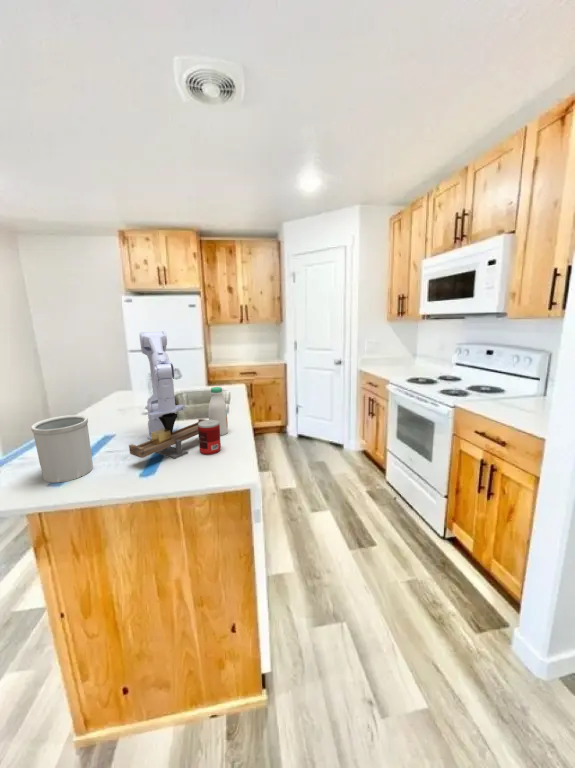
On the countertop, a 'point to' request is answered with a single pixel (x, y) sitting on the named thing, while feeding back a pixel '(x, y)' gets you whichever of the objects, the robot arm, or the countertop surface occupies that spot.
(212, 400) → the milk bottle
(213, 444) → the canned food
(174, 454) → the stand
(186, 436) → the beam
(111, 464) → the countertop surface
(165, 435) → the block
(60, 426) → the utensil holder
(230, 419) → the countertop surface
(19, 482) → the countertop surface
